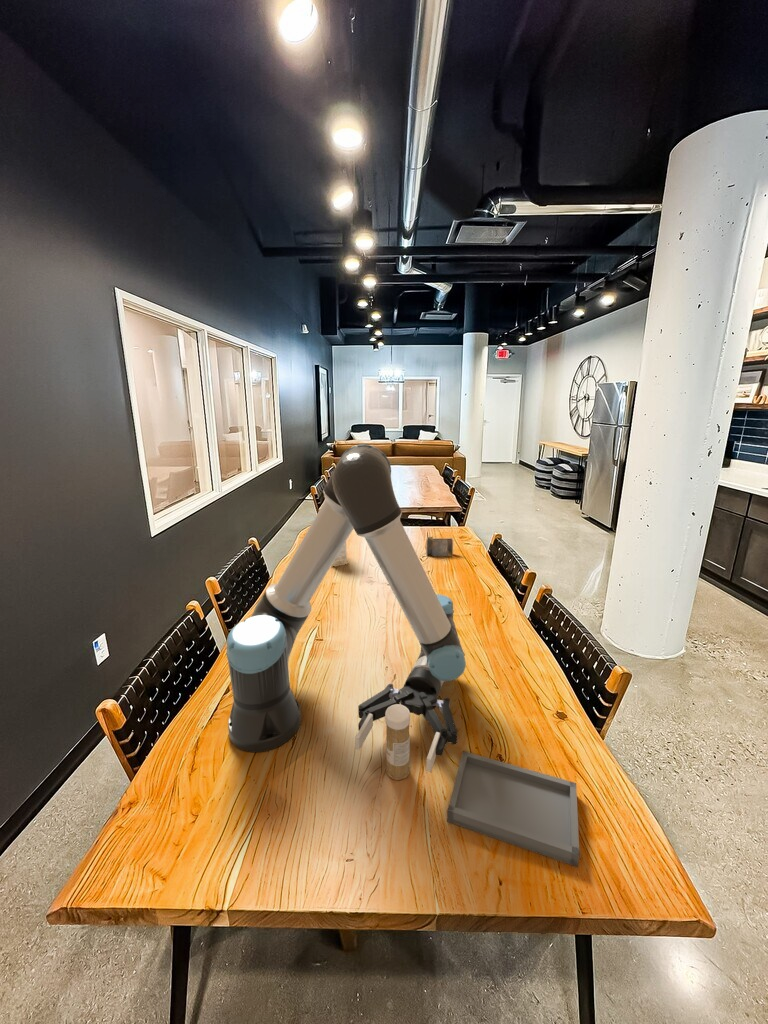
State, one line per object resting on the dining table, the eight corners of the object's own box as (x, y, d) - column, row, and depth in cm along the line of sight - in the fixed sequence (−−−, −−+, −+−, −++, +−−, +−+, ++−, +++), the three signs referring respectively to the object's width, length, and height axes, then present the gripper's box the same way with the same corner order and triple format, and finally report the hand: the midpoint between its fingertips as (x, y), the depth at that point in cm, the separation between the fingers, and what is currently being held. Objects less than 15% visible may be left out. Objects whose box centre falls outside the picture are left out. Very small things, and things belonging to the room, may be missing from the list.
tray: (447, 821, 71) (447, 810, 71) (462, 761, 83) (463, 750, 82) (577, 867, 64) (579, 854, 64) (574, 794, 76) (576, 783, 75)
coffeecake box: (320, 555, 190) (318, 513, 185) (336, 553, 193) (334, 511, 187) (331, 567, 177) (329, 522, 171) (347, 564, 180) (345, 520, 174)
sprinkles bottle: (385, 762, 83) (383, 704, 80) (408, 760, 84) (408, 702, 80) (387, 782, 79) (386, 722, 75) (412, 780, 79) (412, 720, 76)
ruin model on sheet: (426, 557, 187) (427, 536, 184) (426, 554, 190) (426, 534, 187) (452, 557, 187) (453, 536, 184) (451, 554, 190) (452, 533, 187)
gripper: (480, 709, 92) (460, 792, 73) (373, 683, 101) (331, 751, 82) (482, 679, 90) (461, 757, 71) (373, 655, 99) (329, 718, 80)
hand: (391, 754), depth 76 cm, fingers open, 13 cm apart
